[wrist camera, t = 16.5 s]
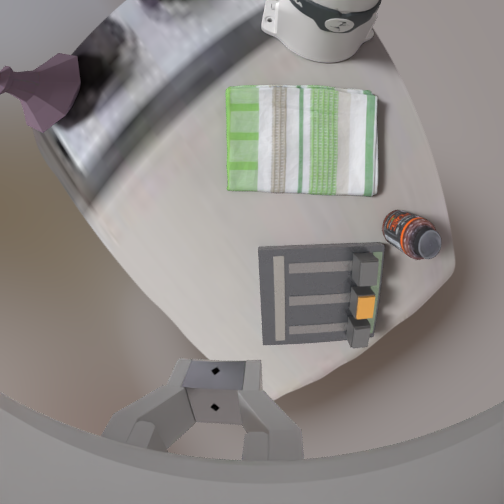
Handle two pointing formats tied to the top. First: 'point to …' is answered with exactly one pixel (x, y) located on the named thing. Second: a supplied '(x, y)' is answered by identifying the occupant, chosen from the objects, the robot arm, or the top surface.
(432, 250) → the supplement bottle
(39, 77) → the flask
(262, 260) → the panel
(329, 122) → the dish towel
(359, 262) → the block
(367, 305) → the breaker mid
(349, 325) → the block
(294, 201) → the top surface
